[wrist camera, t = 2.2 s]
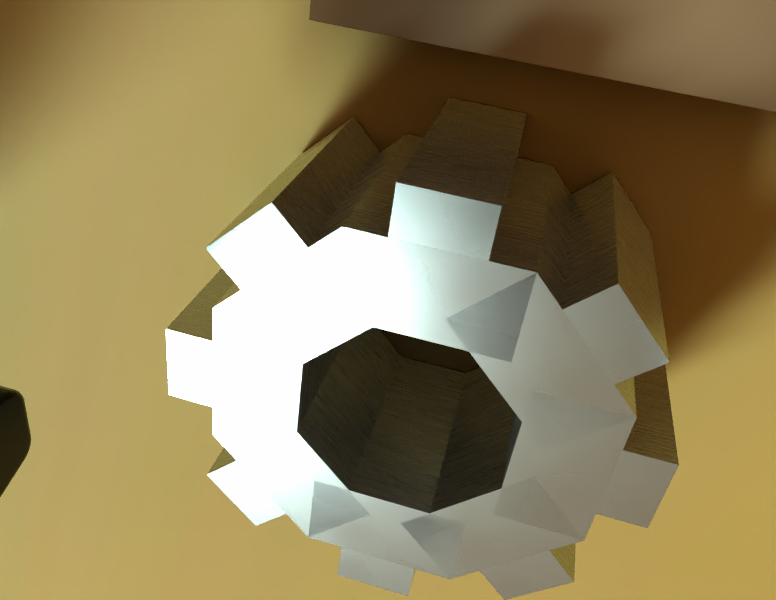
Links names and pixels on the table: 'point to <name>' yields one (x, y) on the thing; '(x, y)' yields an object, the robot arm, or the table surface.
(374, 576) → the loose gear
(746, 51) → the gear board
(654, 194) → the table surface
